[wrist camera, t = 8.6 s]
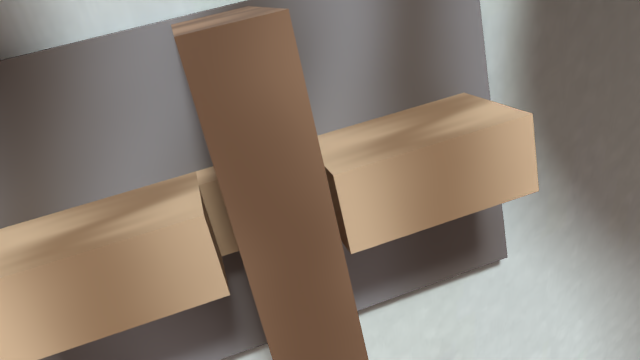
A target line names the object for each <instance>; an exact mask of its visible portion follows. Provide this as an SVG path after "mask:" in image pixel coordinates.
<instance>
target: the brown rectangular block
mask: <svg viewBox="0 0 640 360" xmlns="http://www.w3.org/2000/svg"><path fill="white" fill-rule="evenodd" d="M171 27H172V31H173V35H174V39H175V42H176V45H177V49H178V52H179V55H180V58H181V62H182V65H183V68H184V72H185V75H186V78H187V81H188V85H189V88H190V91H191V94H192V98H193V101H194V104H195V107H196V111H197V114H198V117H199V121H200V124H201V127H202V130H203V134H204V137H205V140H206V143H207V147H208V150H209V153H210V156H211V160H212V163H213V166H214V170H215V173H216V176H217V179H218V183H219V186H220V189H221V192H222V196H223V199H224V202H225V205H226V209H227V212H228V215H229V219H230V222H231V225H232V228H233V232H234V235H235V238H236V241H237V245H238V248H239V251H240V254H241V258H242V261H243V264H244V268H245V271H246V274H247V277H248V281H249V284H250V287H251V290H252V294H253V297H254V300H255V303H256V307H257V310H258V313H259V317H260V320H261V323H262V326H263V330H264V333H265V336H266V339H267V343H268V346H269V349H270V352H271V356H272V359H273V360H368V356H367V351H366V347H365V343H364V338H363V334H362V329H361V325H360V321H359V316H358V312H357V307H356V303H355V299H354V294H353V290H352V285H351V281H350V277H349V272H348V268H347V264H346V259H345V255H344V250H343V246H342V242H341V237H340V233H339V228H338V224H337V220H336V215H335V211H334V206H333V202H332V198H331V193H330V189H329V184H328V180H327V176H326V171H325V167H324V162H323V158H322V154H321V149H320V145H319V140H318V136H317V132H316V127H315V123H314V118H313V114H312V110H311V105H310V101H309V97H308V92H307V88H306V83H305V79H304V75H303V70H302V66H301V61H300V57H299V53H298V48H297V44H296V39H295V35H294V31H293V26H292V22H291V17H290V13H289V9H284V8H269V7H255V6H246V7H242V8H238V9H234V10H230V11H226V12H222V13H217V14H213V15H209V16H205V17H201V18H197V19H192V20H188V21H184V22H180V23H176V24H172V25H171Z"/></svg>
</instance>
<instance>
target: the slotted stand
mask: <svg viewBox="0 0 640 360" xmlns="http://www.w3.org/2000/svg"><path fill="white" fill-rule="evenodd" d="M246 6H255V7H269V8H284V9H289V13H290V17H291V22H292V26H293V31H294V35H295V39H296V44H297V48H298V53H299V57H300V61H301V66H302V70H303V75H304V79H305V83H306V88H307V92H308V97H309V101H310V105H311V110H312V114H313V118H314V123H315V127H316V132H317V136H318V140H319V145H320V149H321V154H322V158H323V162H324V167H325V171H326V176H327V180H328V184H329V189H330V193H331V198H332V202H333V206H334V211H335V215H336V220H337V224H338V228H339V233H340V237H341V242H342V246H343V250H344V255H345V259H346V264H347V268H348V272H349V277H350V281H351V285H352V290H353V294H354V299H355V303H356V307H357V311H358V310H361V309H364V308H367V307H370V306H372V305H375V304H378V303H381V302H384V301H386V300H389V299H392V298H395V297H398V296H401V295H403V294H406V293H409V292H412V291H415V290H417V289H420V288H423V287H426V286H429V285H431V284H434V283H437V282H440V281H443V280H445V279H448V278H451V277H454V276H457V275H459V274H462V273H465V272H468V271H471V270H473V269H476V268H479V267H482V266H485V265H487V264H490V263H493V262H496V261H499V260H501V259H504V258H507V248H506V239H505V229H504V220H503V211H502V203H505V202H508V201H511V200H514V199H517V198H520V197H523V196H526V195H529V194H532V193H535V192H537V191H539V186H538V173H537V161H536V149H535V136H534V124H533V114H532V113H529V112H526V111H522V110H519V109H516V108H513V107H509V106H506V105H503V104H500V103H496V102H493V101H490V91H489V82H488V73H487V64H486V55H485V45H484V36H483V27H482V18H481V9H480V0H247V1H243V2H238V3H234V4H230V5H226V6H222V7H218V8H214V9H210V10H206V11H201V12H197V13H193V14H189V15H185V16H181V17H177V18H173V19H169V20H165V21H160V22H156V23H152V24H148V25H144V26H140V27H136V28H132V29H128V30H124V31H119V32H115V33H111V34H107V35H103V36H99V37H95V38H91V39H87V40H82V41H78V42H74V43H70V44H66V45H62V46H58V47H54V48H50V49H46V50H41V51H37V52H33V53H29V54H25V55H21V56H17V57H13V58H9V59H5V60H0V360H221V359H224V358H227V357H229V356H232V355H235V354H238V353H241V352H243V351H246V350H249V349H252V348H255V347H257V346H260V345H263V344H266V343H267V339H266V336H265V333H264V330H263V326H262V323H261V320H260V317H259V313H258V310H257V307H256V303H255V300H254V297H253V294H252V290H251V287H250V284H249V281H248V277H247V274H246V271H245V268H244V264H243V261H242V258H241V254H240V251H239V248H238V245H237V241H236V238H235V235H234V232H233V228H232V225H231V222H230V219H229V215H228V212H227V209H226V205H225V202H224V199H223V196H222V192H221V189H220V186H219V183H218V179H217V176H216V173H215V170H214V166H213V163H212V160H211V156H210V153H209V150H208V147H207V143H206V140H205V137H204V134H203V130H202V127H201V124H200V121H199V117H198V114H197V111H196V107H195V104H194V101H193V98H192V94H191V91H190V88H189V85H188V81H187V78H186V75H185V72H184V68H183V65H182V62H181V58H180V55H179V52H178V49H177V45H176V42H175V39H174V35H173V31H172V27H171V25H172V24H176V23H180V22H184V21H188V20H192V19H197V18H201V17H205V16H209V15H213V14H217V13H222V12H226V11H230V10H234V9H238V8H242V7H246Z"/></svg>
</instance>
